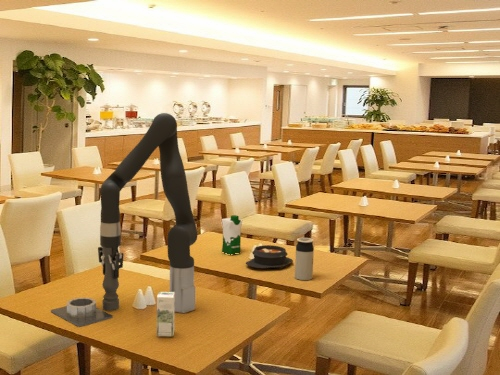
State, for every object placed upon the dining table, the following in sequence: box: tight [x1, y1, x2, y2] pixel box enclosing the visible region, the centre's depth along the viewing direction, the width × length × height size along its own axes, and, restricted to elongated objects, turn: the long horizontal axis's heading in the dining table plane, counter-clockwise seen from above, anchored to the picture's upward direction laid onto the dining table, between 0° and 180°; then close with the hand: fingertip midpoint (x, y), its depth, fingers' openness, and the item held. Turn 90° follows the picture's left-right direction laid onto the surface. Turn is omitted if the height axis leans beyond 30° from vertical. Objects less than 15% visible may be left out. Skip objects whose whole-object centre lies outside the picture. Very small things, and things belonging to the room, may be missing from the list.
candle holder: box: [102, 247, 120, 312], centre depth 241 cm, size 6×6×25 cm
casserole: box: [245, 244, 294, 269], centre depth 306 cm, size 25×19×8 cm
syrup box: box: [156, 291, 175, 338], centre depth 218 cm, size 6×6×14 cm
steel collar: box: [50, 297, 114, 328], centre depth 235 cm, size 20×14×5 cm
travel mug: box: [294, 237, 315, 281], centre depth 287 cm, size 8×8×18 cm
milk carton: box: [221, 215, 243, 255], centre depth 326 cm, size 9×9×20 cm
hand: (110, 276), depth 241 cm, fingers open, 6 cm apart
